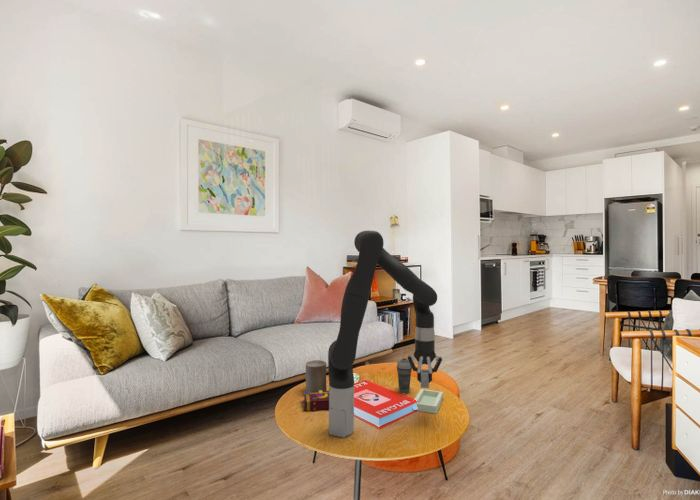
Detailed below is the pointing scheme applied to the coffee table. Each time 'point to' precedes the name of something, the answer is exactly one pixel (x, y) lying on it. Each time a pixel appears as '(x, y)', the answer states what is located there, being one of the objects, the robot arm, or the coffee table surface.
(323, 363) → the pillar candle
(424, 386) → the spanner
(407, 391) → the beverage cup
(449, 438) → the coffee table surface
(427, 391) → the mint green tray
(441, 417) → the coffee table surface
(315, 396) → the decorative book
